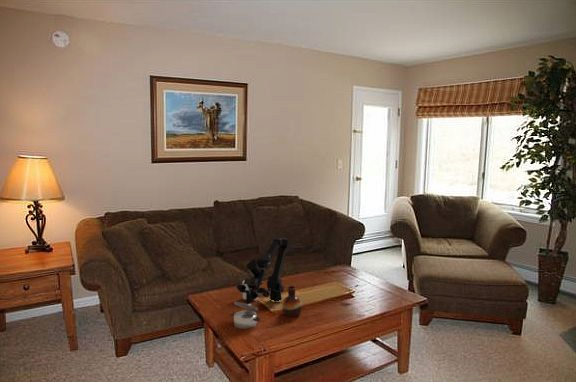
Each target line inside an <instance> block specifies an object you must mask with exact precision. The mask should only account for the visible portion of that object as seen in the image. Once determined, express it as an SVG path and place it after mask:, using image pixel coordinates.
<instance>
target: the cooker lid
mask: <svg viewBox="0 0 576 382" xmlns="http://www.w3.org/2000/svg"><path fill="white" fill-rule="evenodd" d="M233 304H234V305H235V306H238V307H241V308H244V309H247V310H251V311H259V307H258V306H255V305H253V304H252V303H249V304H246V302H241V301H234V303H233Z"/></svg>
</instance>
